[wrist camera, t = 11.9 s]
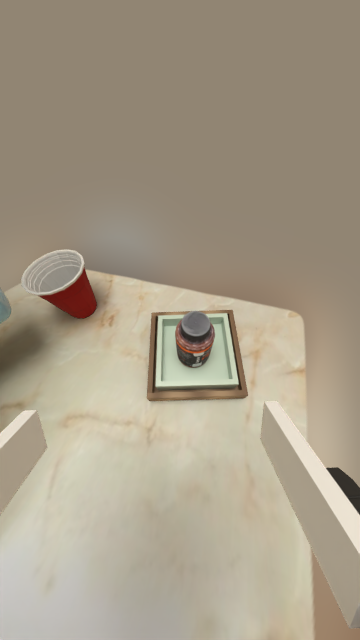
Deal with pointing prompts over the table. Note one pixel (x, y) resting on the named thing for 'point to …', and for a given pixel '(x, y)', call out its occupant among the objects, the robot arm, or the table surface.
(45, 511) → the table surface
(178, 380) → the grey-green crate
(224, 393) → the walnut crate
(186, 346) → the supplement bottle
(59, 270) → the plastic cup
